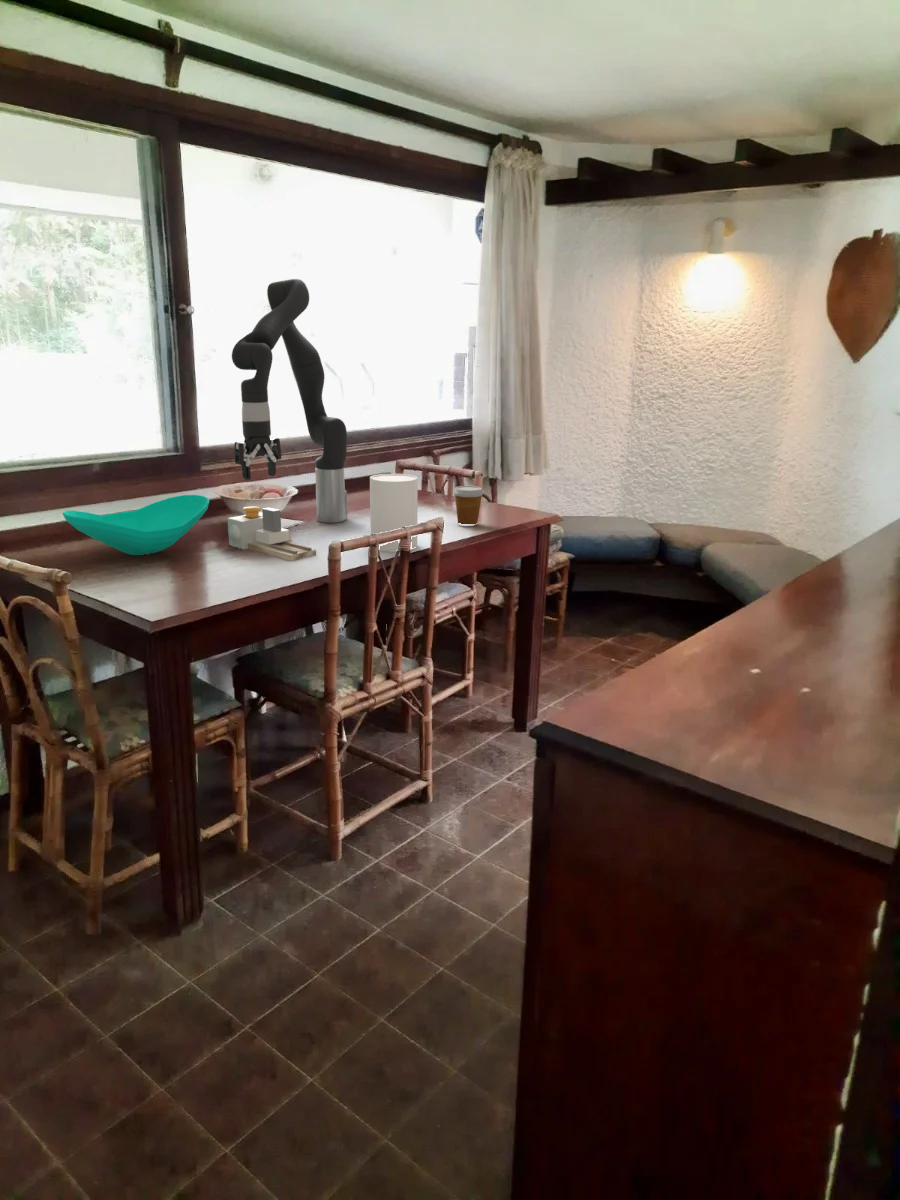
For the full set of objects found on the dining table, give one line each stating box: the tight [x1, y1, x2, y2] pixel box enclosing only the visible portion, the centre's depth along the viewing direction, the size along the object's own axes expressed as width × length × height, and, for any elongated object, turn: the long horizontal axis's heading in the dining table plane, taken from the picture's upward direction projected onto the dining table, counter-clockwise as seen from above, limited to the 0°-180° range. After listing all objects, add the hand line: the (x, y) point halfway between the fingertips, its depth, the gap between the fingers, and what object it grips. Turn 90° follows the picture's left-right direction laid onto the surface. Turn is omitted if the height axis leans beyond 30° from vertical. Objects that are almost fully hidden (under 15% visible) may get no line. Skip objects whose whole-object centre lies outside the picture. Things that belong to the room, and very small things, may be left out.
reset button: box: [242, 506, 262, 519], centre depth 239 cm, size 5×5×4 cm
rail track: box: [247, 539, 317, 562], centre depth 233 cm, size 9×19×2 cm, turn 49°
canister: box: [369, 473, 419, 553], centre depth 239 cm, size 14×14×20 cm
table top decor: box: [62, 494, 210, 556], centre depth 229 cm, size 40×28×13 cm
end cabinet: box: [226, 511, 263, 550], centre depth 240 cm, size 12×7×8 cm, turn 139°
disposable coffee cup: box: [453, 485, 484, 524], centre depth 269 cm, size 10×10×12 cm
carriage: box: [256, 507, 290, 545], centre depth 234 cm, size 7×6×9 cm
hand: (259, 477), depth 233 cm, fingers open, 8 cm apart
